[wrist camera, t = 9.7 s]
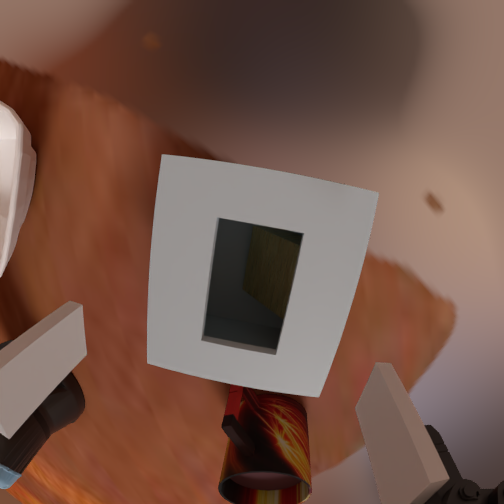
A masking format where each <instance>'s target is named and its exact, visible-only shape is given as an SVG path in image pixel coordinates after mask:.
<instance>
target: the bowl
mask: <svg viewBox="0 0 504 504" xmlns="http://www.w3.org/2000/svg"><path fill="white" fill-rule="evenodd" d="M35 169H36V152H35V151H34V150H33V148H32V147H31V134H30V132H29V131H28V129H27V128H26V126H25V125H24V123H23V122H22V120H21V119H20V118H19V116H18V115H17V113H16V112H15V111H14V109H12V108H11V107H9V106H8V105H6V104H5V103H3V102H2V101H0V277H1V276H2V274H3V272H4V270H5V268H6V266H7V263H8V261H9V259H10V257H11V256H12V253H13V251H14V248H15V246H16V243H17V238H18V234H19V230H20V227H21V225H22V223H23V222H24V220H25V217H26V214H27V211H28V208H29V204H30V201H31V196H32V192H33V186H34V180H35Z"/></svg>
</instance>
